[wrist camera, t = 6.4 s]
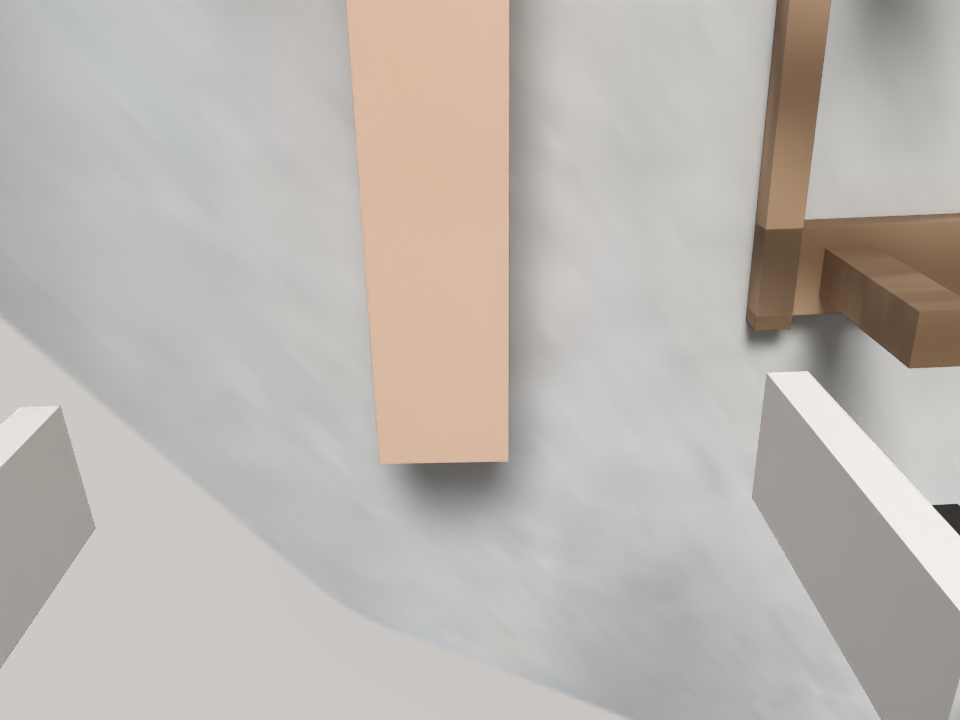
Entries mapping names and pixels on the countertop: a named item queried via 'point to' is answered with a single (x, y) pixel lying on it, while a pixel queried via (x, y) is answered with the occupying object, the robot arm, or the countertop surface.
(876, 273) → the rack
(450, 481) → the countertop surface
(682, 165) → the countertop surface
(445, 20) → the clay strip
